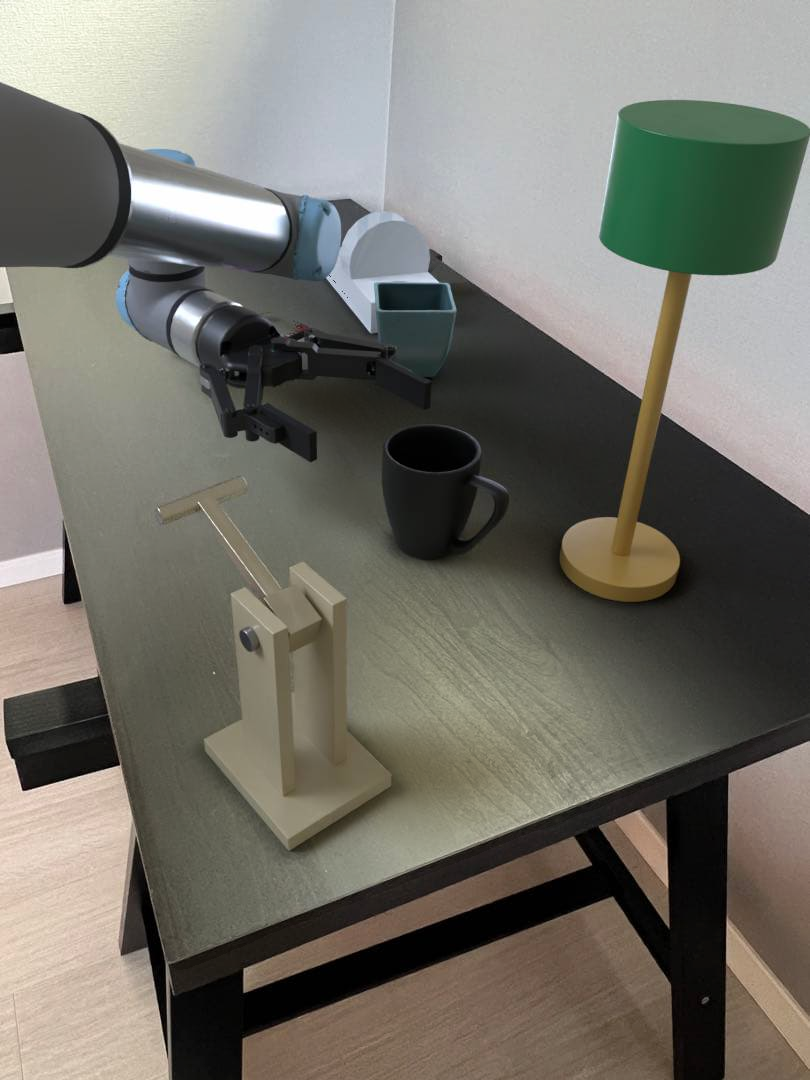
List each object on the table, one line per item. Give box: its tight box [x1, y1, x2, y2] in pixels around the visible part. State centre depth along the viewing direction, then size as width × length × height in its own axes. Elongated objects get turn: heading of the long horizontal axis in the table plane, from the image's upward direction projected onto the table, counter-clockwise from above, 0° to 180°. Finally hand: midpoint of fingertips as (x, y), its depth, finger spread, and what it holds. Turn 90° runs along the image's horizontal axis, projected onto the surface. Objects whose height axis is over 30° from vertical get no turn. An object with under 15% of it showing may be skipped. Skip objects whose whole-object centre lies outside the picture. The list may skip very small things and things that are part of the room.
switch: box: [153, 475, 322, 655], centre depth 57 cm, size 12×6×2 cm, turn 40°
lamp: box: [559, 99, 810, 603], centre depth 71 cm, size 12×12×36 cm
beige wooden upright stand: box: [203, 561, 392, 852], centre depth 58 cm, size 10×8×15 cm
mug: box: [381, 423, 510, 560], centre depth 80 cm, size 8×12×10 cm
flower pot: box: [374, 282, 457, 378], centre depth 108 cm, size 9×9×9 cm
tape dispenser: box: [325, 210, 440, 334], centre depth 124 cm, size 20×11×11 cm, turn 21°
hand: (373, 420), depth 82 cm, fingers open, 13 cm apart
